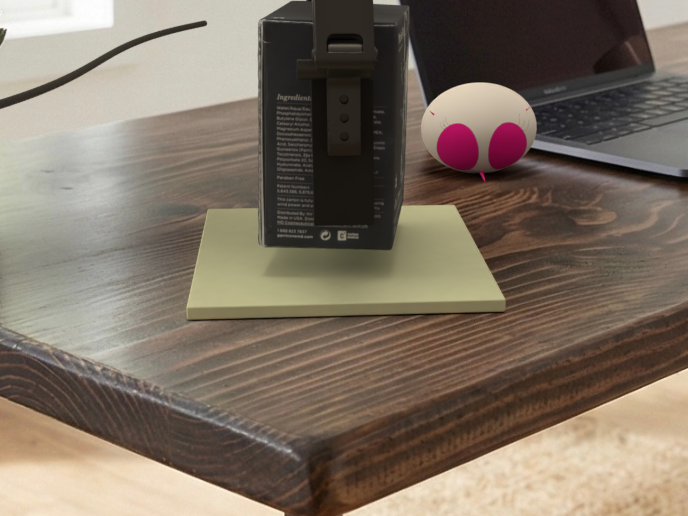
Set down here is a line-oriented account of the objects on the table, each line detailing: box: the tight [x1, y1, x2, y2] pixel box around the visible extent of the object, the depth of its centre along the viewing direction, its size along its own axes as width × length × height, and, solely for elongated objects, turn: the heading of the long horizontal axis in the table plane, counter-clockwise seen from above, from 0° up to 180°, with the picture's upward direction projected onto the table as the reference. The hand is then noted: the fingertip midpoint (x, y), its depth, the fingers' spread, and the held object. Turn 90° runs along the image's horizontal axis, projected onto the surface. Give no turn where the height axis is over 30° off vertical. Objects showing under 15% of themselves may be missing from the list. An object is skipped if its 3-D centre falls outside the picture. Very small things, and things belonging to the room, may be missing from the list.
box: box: [257, 0, 410, 250], centre depth 63 cm, size 11×7×10 cm, turn 178°
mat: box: [185, 204, 507, 321], centre depth 65 cm, size 18×14×1 cm
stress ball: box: [420, 82, 538, 182], centre depth 85 cm, size 8×8×7 cm
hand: (338, 194), depth 64 cm, fingers closed on box, 11 cm apart
